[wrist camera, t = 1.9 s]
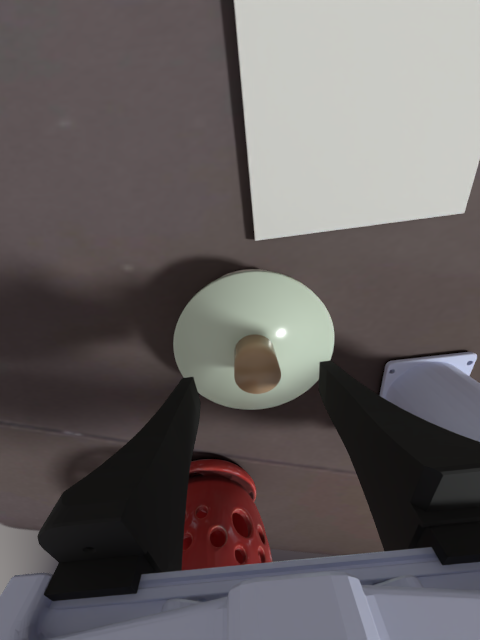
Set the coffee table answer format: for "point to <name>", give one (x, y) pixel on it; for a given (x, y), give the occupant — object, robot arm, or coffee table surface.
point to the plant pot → (222, 518)
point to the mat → (358, 110)
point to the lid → (253, 339)
